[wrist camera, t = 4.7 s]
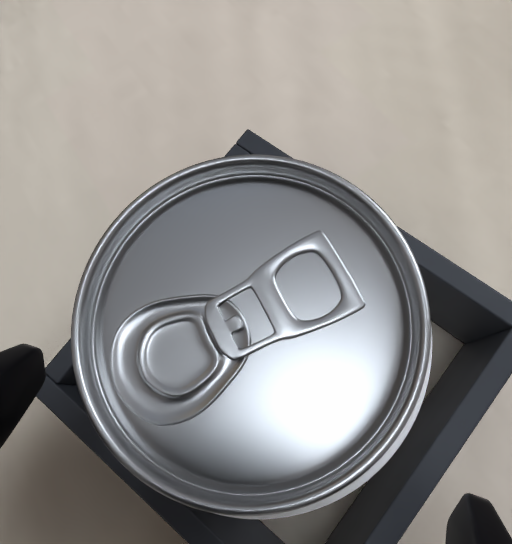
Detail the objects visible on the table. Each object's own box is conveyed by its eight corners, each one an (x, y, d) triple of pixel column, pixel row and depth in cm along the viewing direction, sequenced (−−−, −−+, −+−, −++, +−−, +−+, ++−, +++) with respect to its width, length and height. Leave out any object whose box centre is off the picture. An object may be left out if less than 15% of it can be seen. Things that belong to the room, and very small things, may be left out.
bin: (313, 596, 17) (314, 667, 12) (89, 390, 19) (26, 388, 15) (490, 340, 18) (546, 322, 14) (260, 183, 21) (247, 127, 17)
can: (178, 332, 20) (-8, 240, 8) (315, 260, 20) (325, 69, 8) (248, 483, 18) (136, 642, 6) (398, 403, 18) (558, 414, 6)
